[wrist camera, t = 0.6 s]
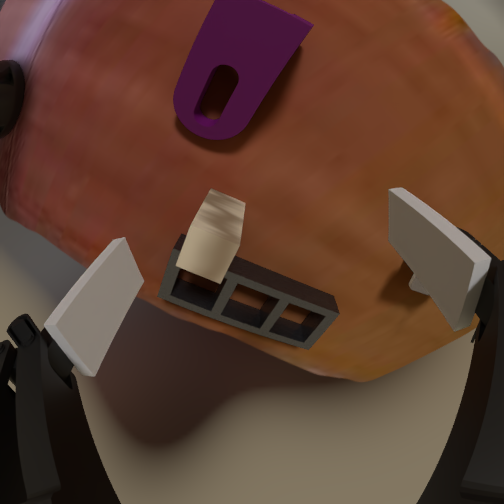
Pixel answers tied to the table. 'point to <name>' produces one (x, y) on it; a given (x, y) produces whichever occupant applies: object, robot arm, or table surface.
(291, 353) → the table surface
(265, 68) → the mounting bracket
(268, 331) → the dark grey long frame
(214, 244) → the peg
